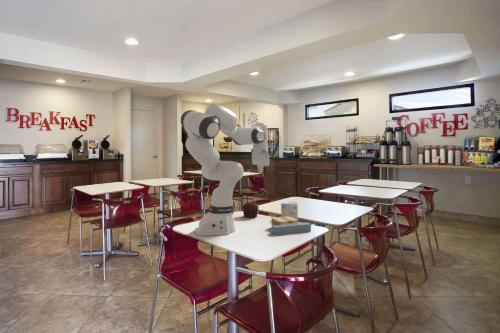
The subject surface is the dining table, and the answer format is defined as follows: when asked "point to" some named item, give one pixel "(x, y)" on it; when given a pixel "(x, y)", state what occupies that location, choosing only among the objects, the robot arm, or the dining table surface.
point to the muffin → (250, 210)
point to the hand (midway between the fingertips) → (260, 172)
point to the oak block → (283, 220)
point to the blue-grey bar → (291, 228)
